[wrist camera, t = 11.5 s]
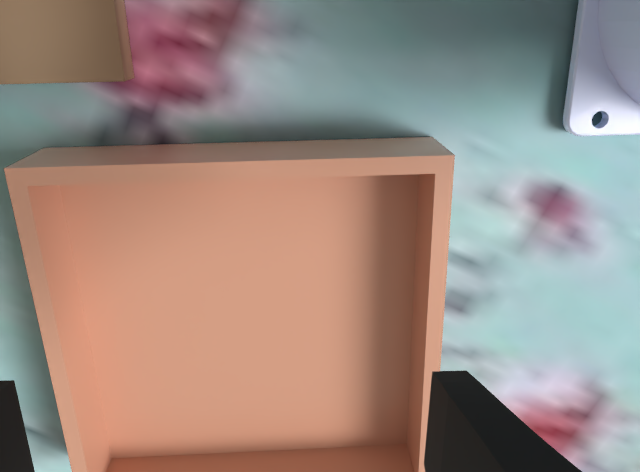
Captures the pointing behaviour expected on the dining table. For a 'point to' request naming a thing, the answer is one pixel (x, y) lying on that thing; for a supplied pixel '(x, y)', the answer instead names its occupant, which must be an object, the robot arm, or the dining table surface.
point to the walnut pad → (64, 41)
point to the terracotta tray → (239, 300)
